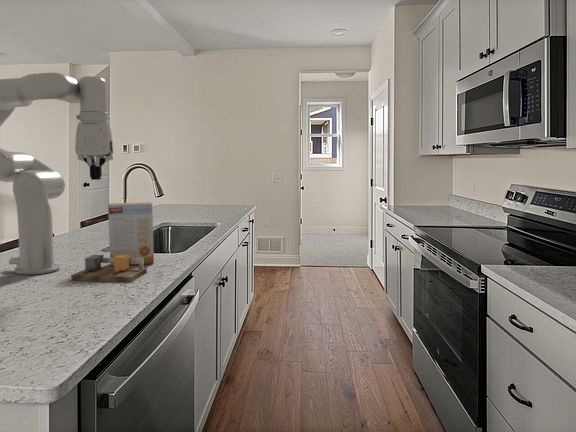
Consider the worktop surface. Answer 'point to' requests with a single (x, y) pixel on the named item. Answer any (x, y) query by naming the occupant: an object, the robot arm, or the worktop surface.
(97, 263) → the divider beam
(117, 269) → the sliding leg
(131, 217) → the cracker box
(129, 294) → the worktop surface
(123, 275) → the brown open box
